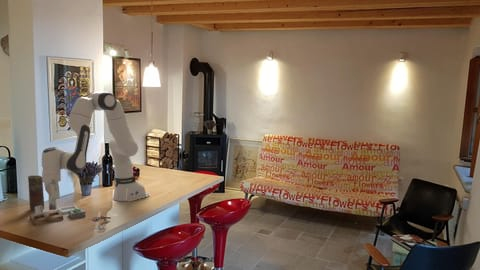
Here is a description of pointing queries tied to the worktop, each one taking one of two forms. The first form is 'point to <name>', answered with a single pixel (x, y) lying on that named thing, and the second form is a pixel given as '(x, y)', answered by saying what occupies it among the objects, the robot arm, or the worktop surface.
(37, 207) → the seated billet
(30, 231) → the worktop surface
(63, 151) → the robot arm
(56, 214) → the wooden holder frame
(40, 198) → the brown rounded piece
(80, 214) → the grey square holed block
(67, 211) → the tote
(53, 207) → the cylinder
